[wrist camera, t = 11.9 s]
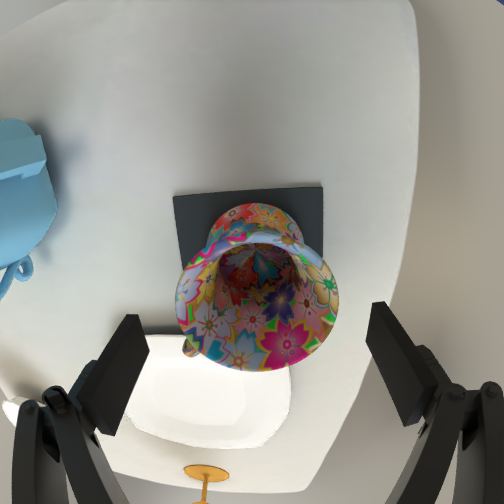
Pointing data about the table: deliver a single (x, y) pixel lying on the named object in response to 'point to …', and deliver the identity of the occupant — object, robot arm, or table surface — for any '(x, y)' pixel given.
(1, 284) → the teapot
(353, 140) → the table surface
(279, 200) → the left mat
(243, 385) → the plate
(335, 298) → the mug
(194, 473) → the cup
